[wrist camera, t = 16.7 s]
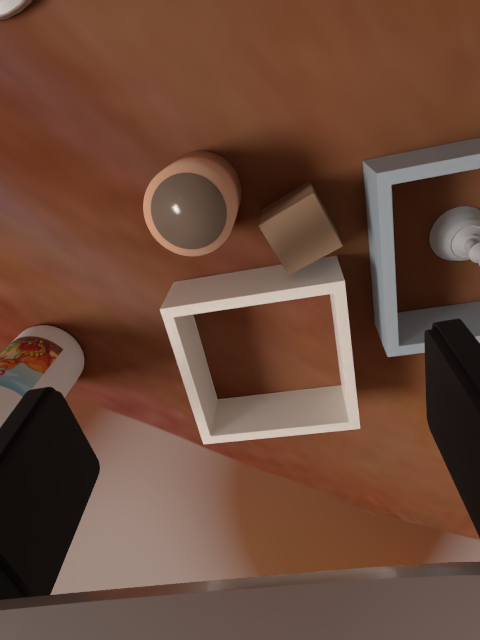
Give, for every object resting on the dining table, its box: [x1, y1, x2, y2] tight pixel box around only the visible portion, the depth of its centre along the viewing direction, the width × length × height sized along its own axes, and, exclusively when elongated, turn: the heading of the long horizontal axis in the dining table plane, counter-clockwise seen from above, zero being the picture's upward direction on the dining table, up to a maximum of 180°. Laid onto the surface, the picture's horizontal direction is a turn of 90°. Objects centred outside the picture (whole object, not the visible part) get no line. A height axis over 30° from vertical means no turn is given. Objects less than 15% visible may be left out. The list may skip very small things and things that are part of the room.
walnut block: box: [258, 181, 343, 275], centre depth 38 cm, size 5×5×5 cm
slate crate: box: [363, 138, 480, 357], centre depth 37 cm, size 16×16×6 cm
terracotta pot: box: [143, 151, 242, 256], centre depth 36 cm, size 7×7×7 cm
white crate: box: [160, 255, 360, 444], centre depth 43 cm, size 16×16×6 cm
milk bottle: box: [0, 325, 84, 427], centre depth 40 cm, size 8×8×20 cm
